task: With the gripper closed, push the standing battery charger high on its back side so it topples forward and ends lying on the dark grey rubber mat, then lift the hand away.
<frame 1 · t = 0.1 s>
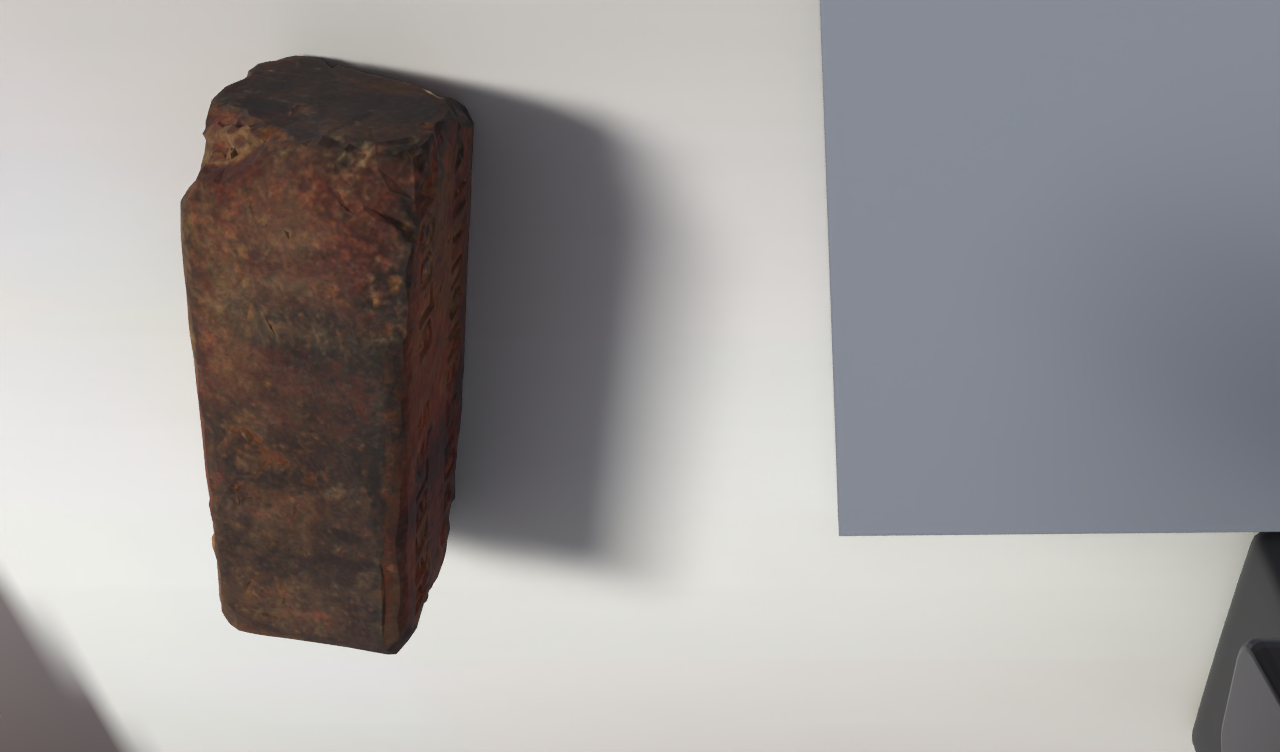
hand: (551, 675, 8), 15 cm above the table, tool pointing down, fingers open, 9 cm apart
brick: (382, 303, 25), on the table
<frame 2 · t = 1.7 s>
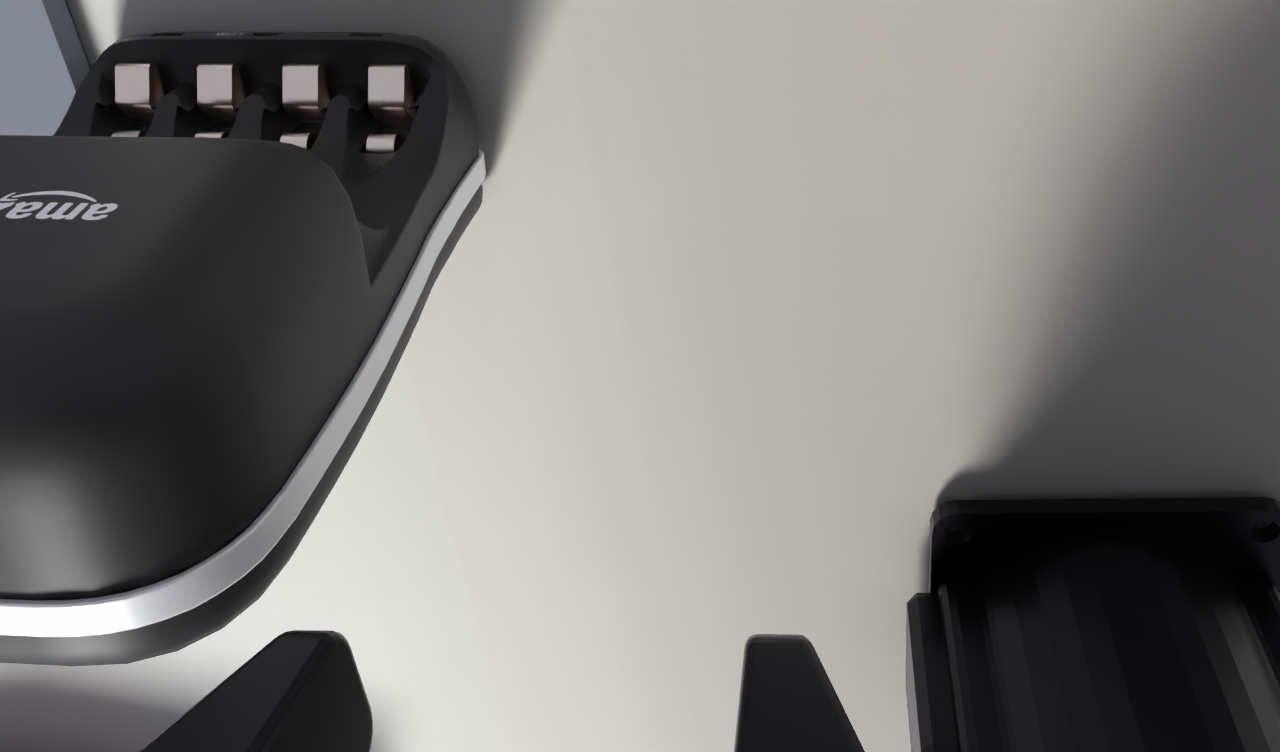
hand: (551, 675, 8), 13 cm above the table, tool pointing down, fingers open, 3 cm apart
battery charger: (297, 92, 20), on the table
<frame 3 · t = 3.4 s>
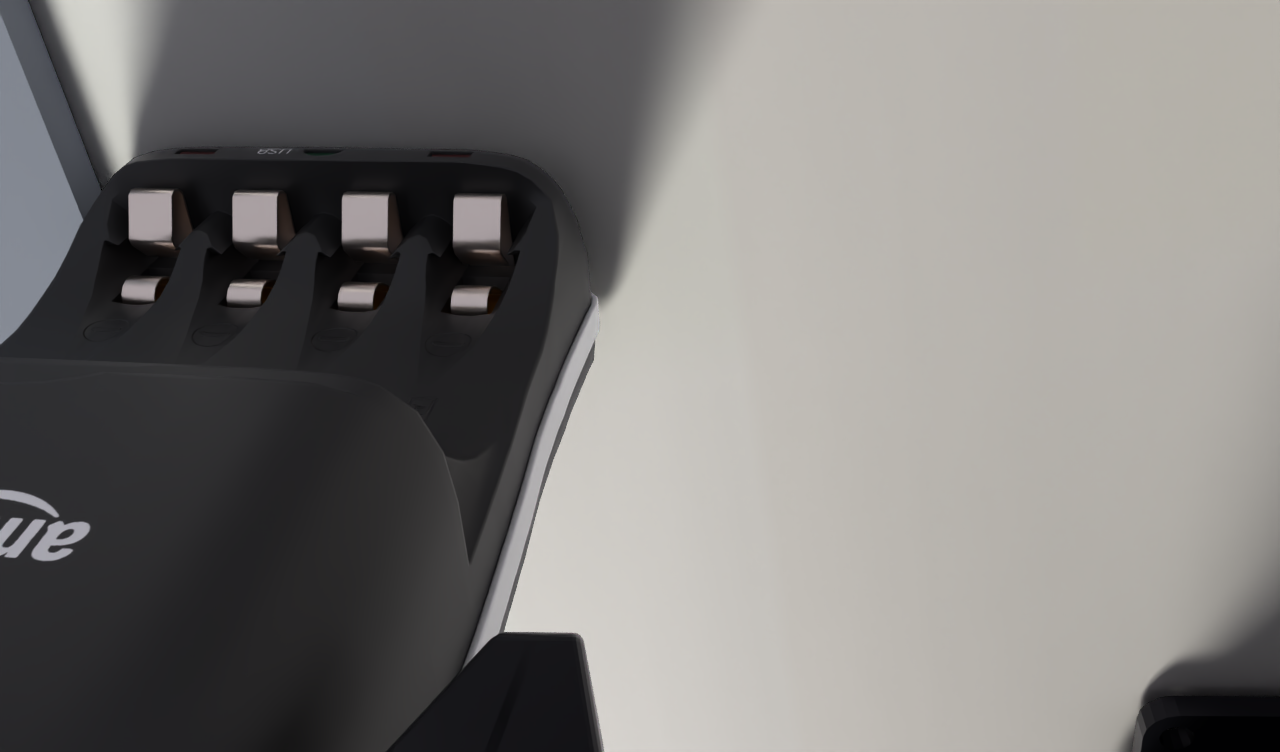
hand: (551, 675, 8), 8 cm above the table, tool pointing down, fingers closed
battery charger: (359, 217, 16), on the table, touching gripper
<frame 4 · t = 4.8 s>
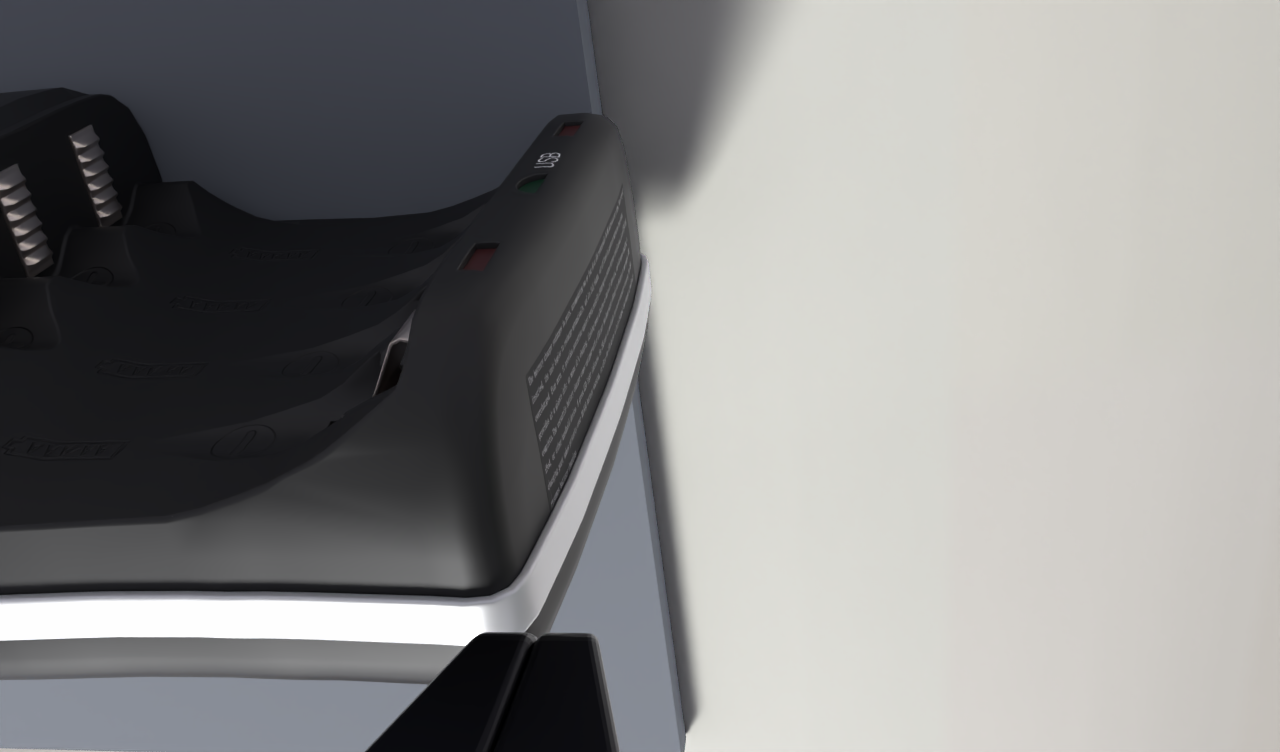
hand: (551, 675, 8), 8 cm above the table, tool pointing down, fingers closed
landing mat: (112, 229, 16), on the table
battery charger: (626, 303, 11), point 4 cm above the table, touching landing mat
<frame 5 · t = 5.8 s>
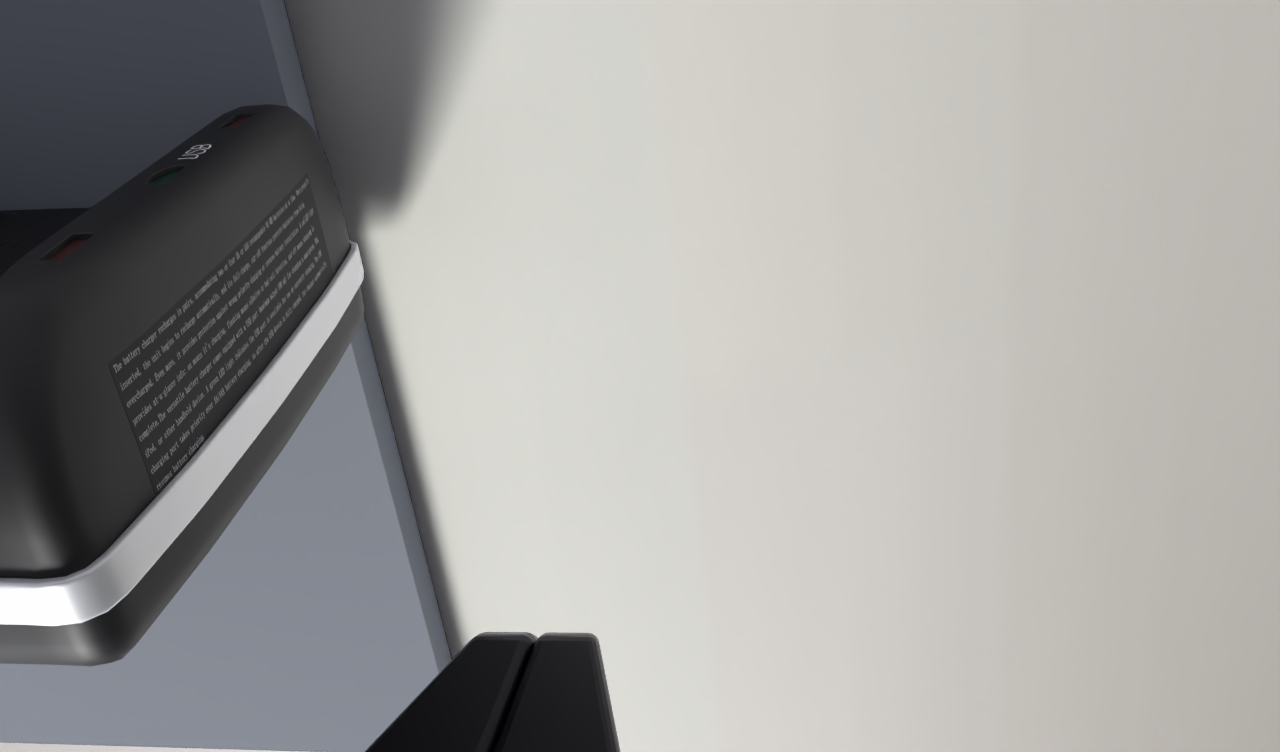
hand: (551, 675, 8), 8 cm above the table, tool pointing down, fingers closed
battery charger: (272, 291, 11), point 4 cm above the table, touching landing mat
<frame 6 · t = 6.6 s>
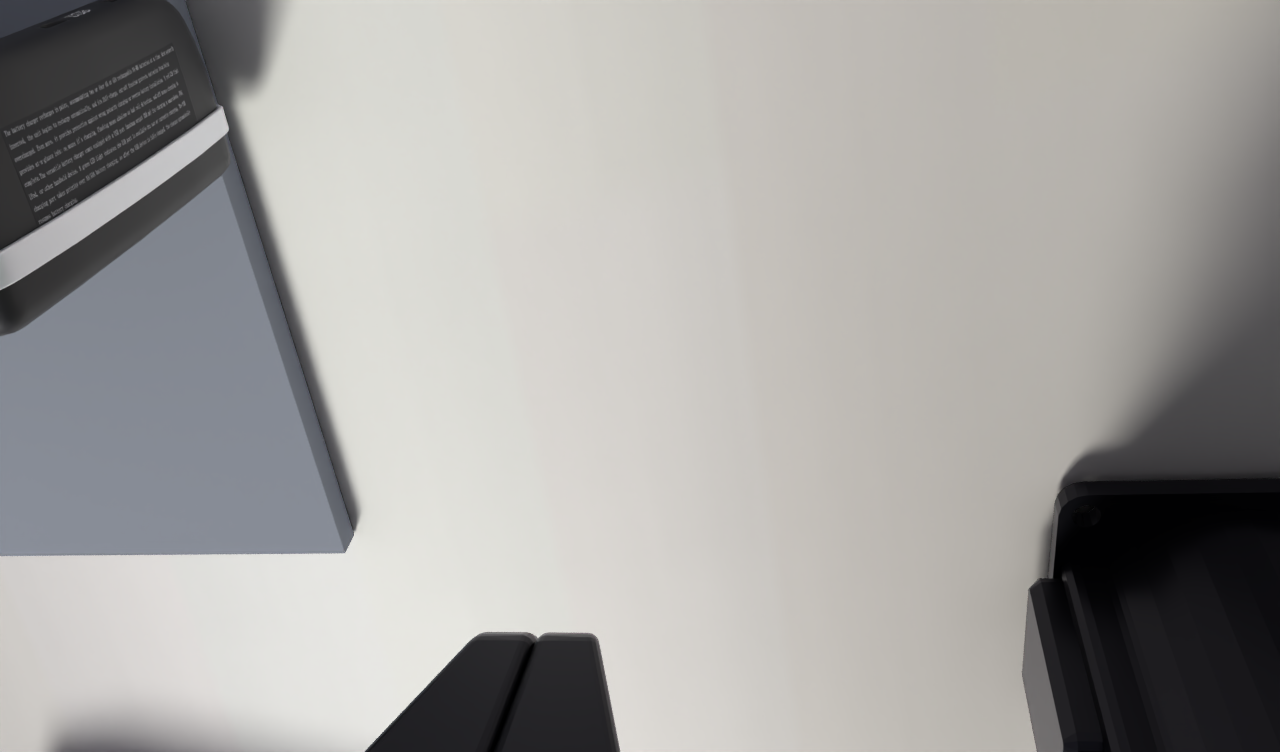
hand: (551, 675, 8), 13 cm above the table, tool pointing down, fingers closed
battery charger: (131, 109, 16), point 4 cm above the table, touching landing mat
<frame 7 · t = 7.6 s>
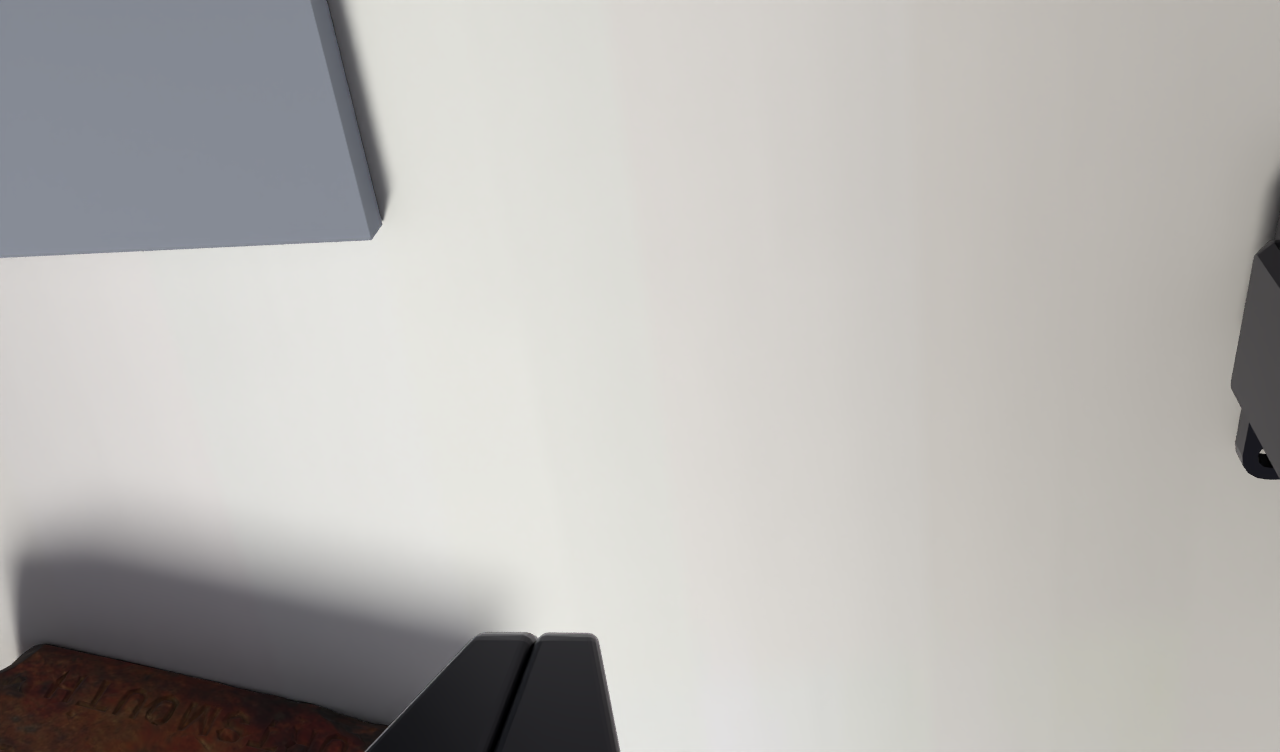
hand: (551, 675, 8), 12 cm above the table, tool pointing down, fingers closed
brick: (243, 724, 29), on the table
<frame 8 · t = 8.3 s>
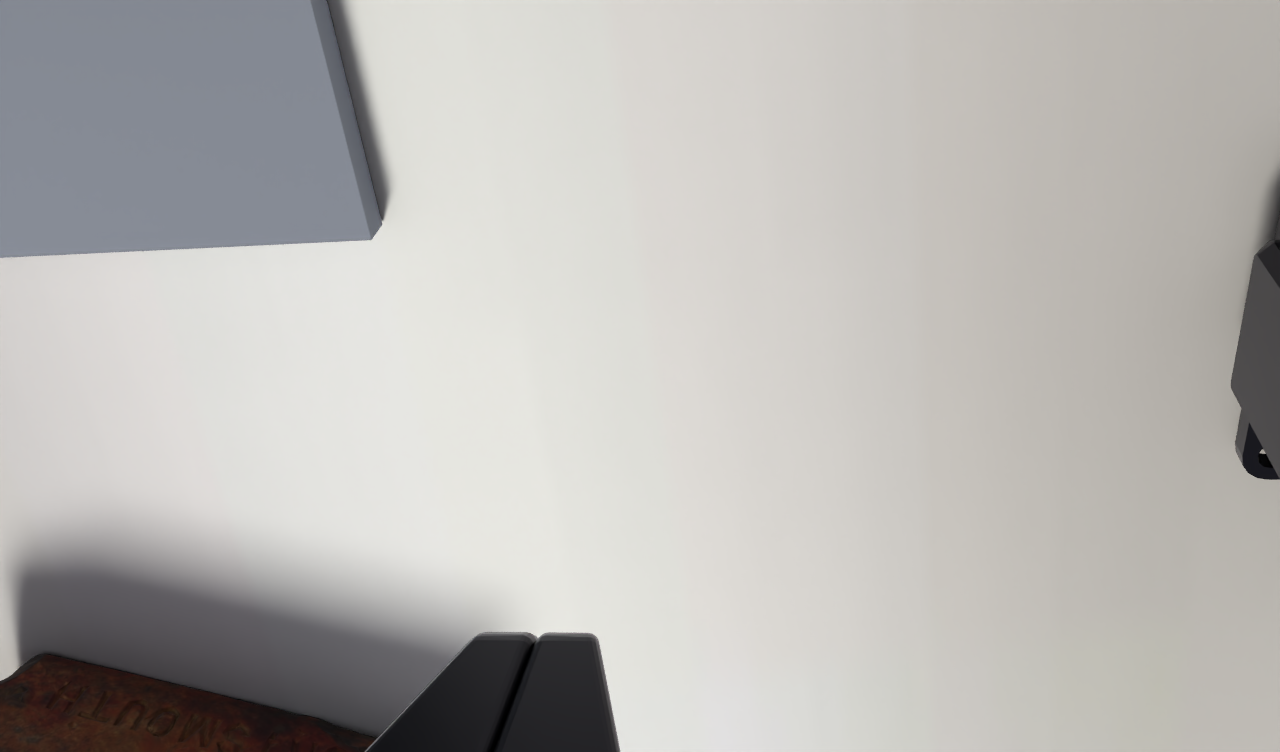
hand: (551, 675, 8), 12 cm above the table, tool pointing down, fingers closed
brick: (242, 735, 29), on the table
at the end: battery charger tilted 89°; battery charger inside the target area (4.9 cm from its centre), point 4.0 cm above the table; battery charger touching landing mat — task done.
